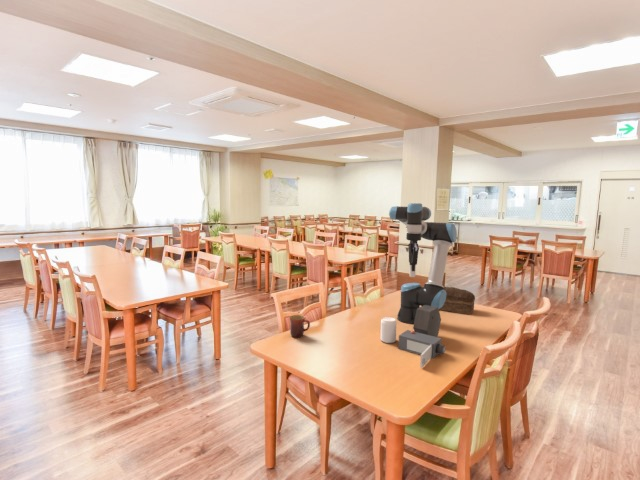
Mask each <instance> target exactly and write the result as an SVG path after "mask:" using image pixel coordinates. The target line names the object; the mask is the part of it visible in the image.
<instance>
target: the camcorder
mask: <svg viewBox="0 0 640 480" xmlns="http://www.w3.org/2000/svg"><path fill="white" fill-rule="evenodd" d="M430 344H432V358H431V359H434V358H436V357H437V356H438V355H439V354H440V355H444V354H445V352H446V345H445V344H442V338H441V337H439V336H438V337H434V336H430V335H426V334H422V333H418V332H415V331H414V330H409V329H407V330H405V331H403V332H402V333H400V334H398V347H397V348H398V349H399V350H401V351H405V352H409V353H412V354H415V355H420V356H421V354H422V353H423V352H424V351H425V350H426V349H427V348H428V347H429V346H430Z"/></svg>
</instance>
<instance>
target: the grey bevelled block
mask: <svg viewBox="0 0 640 480" xmlns="http://www.w3.org/2000/svg"><path fill="white" fill-rule="evenodd" d="M441 321H442V317H441V313H440V310H439V309H438V307H434V306H429V305H423V306H420V307H419V308H418V309H417V311H416V316H415V321H414V323H413V327H412V328H413V329H412V330H413V331H415V332H418V333H422V334H426V335H430V336H434V337H438V338H439V332H440V327H441Z"/></svg>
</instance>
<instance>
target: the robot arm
mask: <svg viewBox="0 0 640 480" xmlns="http://www.w3.org/2000/svg"><path fill="white" fill-rule="evenodd" d="M388 216H389V218H390V220H394V221H399V222H400V223H402V224H403V225H404V226H405V228H406V232H407V233H406V237H405V238H406V239H405V240H407V241H409V243H408V246H407V247H408V262H409V277H410V278H416V268H417V267H416V266H417V265H418V258H419V249H420V248H419V243H418V241H419V242H420V241H421V240H422V239H425V240H428V241H432V244H433V245H434V246H433V250H432V257H431V263H430V268H429V272H428V278H427V282H425V283H424V284H423V286H422V285H421V283H418V282H408V283H404V284H402V285H401V287H400V307H399V310H398V312H397V313H398V314H397V317H396V318H397V319H396V320H397V321H400V322H401V323H405V324H414V321H415V316H416V311H417V309H418V308H419V307H421V306H423V305H429V306H434V307H438V309H440V308H441V307H442V306H443V305H444V303H445V300H446V291H445V290H444V287H445V286H444V285H443V281H444V276H445V271H446V265H447V259H448V252H449V248H450V247H451V246H453V243H455V242H456V241H457V227H456V225H455V224H454V223H452V222H451V223H450V222H435V221H434V222H432V221H430V222H428V221H429V219H430V218H431V216H432V211H431V208H429V207H427V206H423V204H422V203H419V202H418V203H416V202H413V203H411V202H410V203H407V206H397V205H396V206H391V207H390V209H389V213H388Z"/></svg>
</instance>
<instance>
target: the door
mask: <svg viewBox="0 0 640 480" xmlns="http://www.w3.org/2000/svg"><path fill="white" fill-rule="evenodd" d="M431 359H433V358H432V344H430V346H429V347H428V348H427V349H426V350H425V351H424V352H423V353H422V354H421V355H420V364H419V365H420V366H419V367H420V368H422V369H423V368H424V366H426V365H427V363H428V362H429V361H430V360H431Z"/></svg>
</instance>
